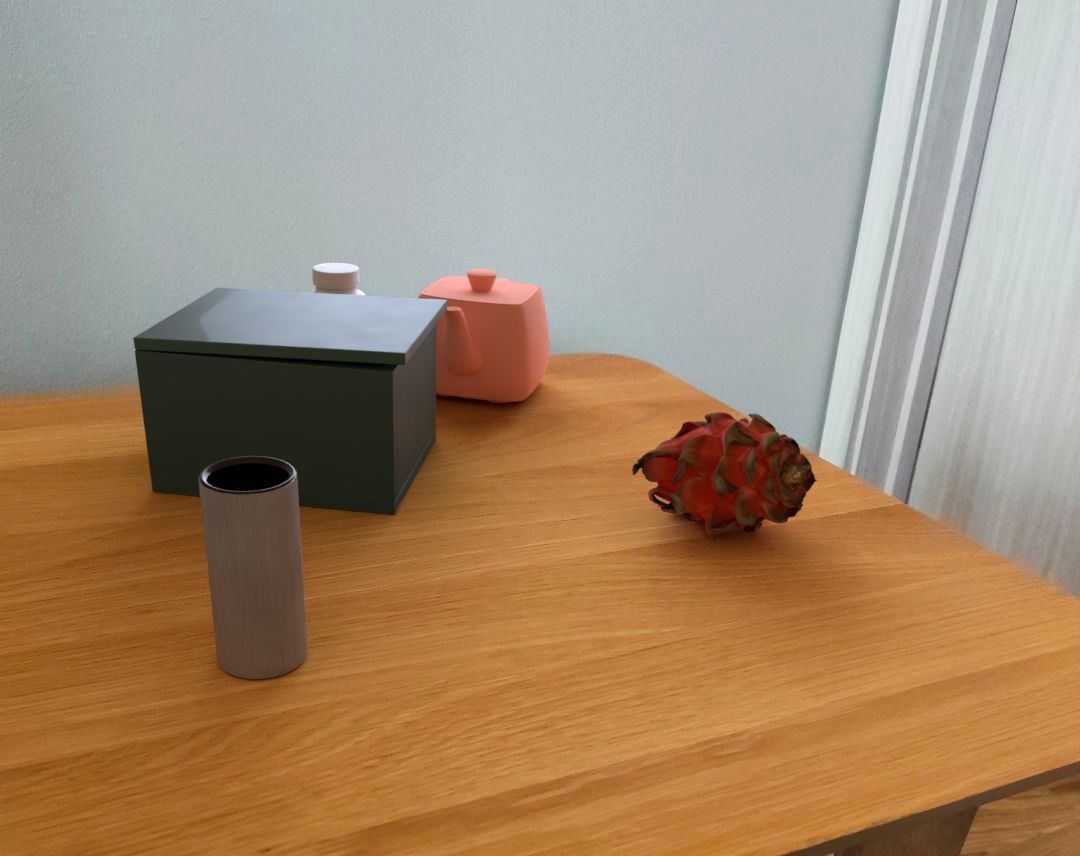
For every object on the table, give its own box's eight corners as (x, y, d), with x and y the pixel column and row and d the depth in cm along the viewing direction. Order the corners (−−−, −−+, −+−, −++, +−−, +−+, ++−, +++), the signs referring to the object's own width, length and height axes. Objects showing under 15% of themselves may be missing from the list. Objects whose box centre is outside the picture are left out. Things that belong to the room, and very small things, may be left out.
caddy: (435, 440, 83) (436, 316, 78) (394, 514, 71) (392, 372, 66) (228, 422, 84) (217, 298, 80) (152, 492, 72) (134, 350, 68)
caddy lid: (447, 310, 78) (447, 299, 78) (405, 365, 66) (404, 353, 66) (217, 298, 80) (216, 287, 79) (134, 349, 68) (132, 337, 67)
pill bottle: (299, 381, 94) (293, 270, 90) (324, 363, 99) (319, 258, 94) (356, 388, 93) (352, 277, 89) (378, 370, 98) (376, 264, 93)
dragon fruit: (815, 565, 70) (637, 561, 74) (818, 458, 74) (649, 458, 78) (815, 500, 63) (617, 498, 66) (818, 385, 67) (631, 388, 70)
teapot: (561, 368, 101) (567, 258, 96) (513, 433, 85) (518, 304, 80) (446, 355, 103) (447, 246, 98) (378, 415, 87) (376, 289, 83)
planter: (200, 653, 55) (180, 470, 50) (276, 623, 58) (264, 448, 53) (247, 691, 52) (229, 501, 47) (324, 658, 55) (315, 476, 50)
